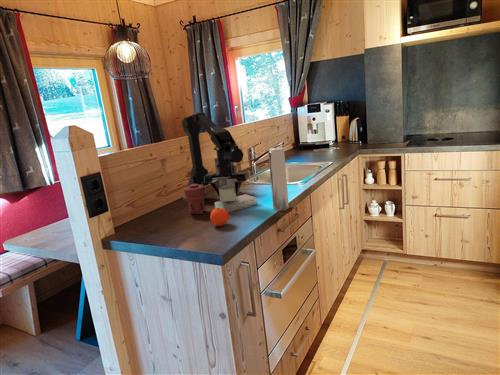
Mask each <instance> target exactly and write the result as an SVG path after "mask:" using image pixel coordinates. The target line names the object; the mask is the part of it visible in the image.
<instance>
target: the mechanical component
mask: <svg viewBox="0 0 500 375" xmlns="http://www.w3.org/2000/svg"><path fill="white" fill-rule="evenodd" d="M183 190H184V192H183V193H184V194H183V195H182V196H183V197H182V199H183V201H186V202H187V206H188V211H189V214H190V215H195V214H200V215H201V214H204V210H205V209H206V205H205V199H204V198H206V197H208V194H207V192H206V191H205V192H204V186H203V185H198V184H191V185H189V186H188V185H187V186H185V187H184V188H183Z"/></svg>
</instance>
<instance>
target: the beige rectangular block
mask: <svg viewBox="0 0 500 375" xmlns="http://www.w3.org/2000/svg"><path fill="white" fill-rule="evenodd" d="M257 204H258V202H257V197H256V196H252V195H250V194H246V193H245V194H241V195H238V198H237V199H236V200H233V201H221V200H218V201H215V202H214V209H215V208H218V207H223V208H224V207H225V208H224V209H225V210H226V209H227V210H226V211H227V212H228V213H232V212H235V211H238V210H241V209H245V208H249V207H252V206H256V205H257Z"/></svg>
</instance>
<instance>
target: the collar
mask: <svg viewBox="0 0 500 375" xmlns="http://www.w3.org/2000/svg"><path fill="white" fill-rule="evenodd" d="M219 195H220V197H219V201H233V200H236V199H237V198H238V197H237V196H236V190H235V185H227V186H222V187H220V188H219ZM219 195H218V196H219Z"/></svg>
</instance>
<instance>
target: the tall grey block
mask: <svg viewBox="0 0 500 375" xmlns="http://www.w3.org/2000/svg"><path fill="white" fill-rule="evenodd" d="M267 155H268V165H269V167H268V168H269V176H270V187H271V188H270V189H271V197H272V198H271V199H272V207H273V211H277V212H284V211H287V210H289V209H290V205H289V204H290V203H289V194H288V193H289V192H288V179H287V178H288V177H287V169H286V168H287V167H286V159H285V158H286V156H285V150H284V147H273V148H269V151H267Z"/></svg>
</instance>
